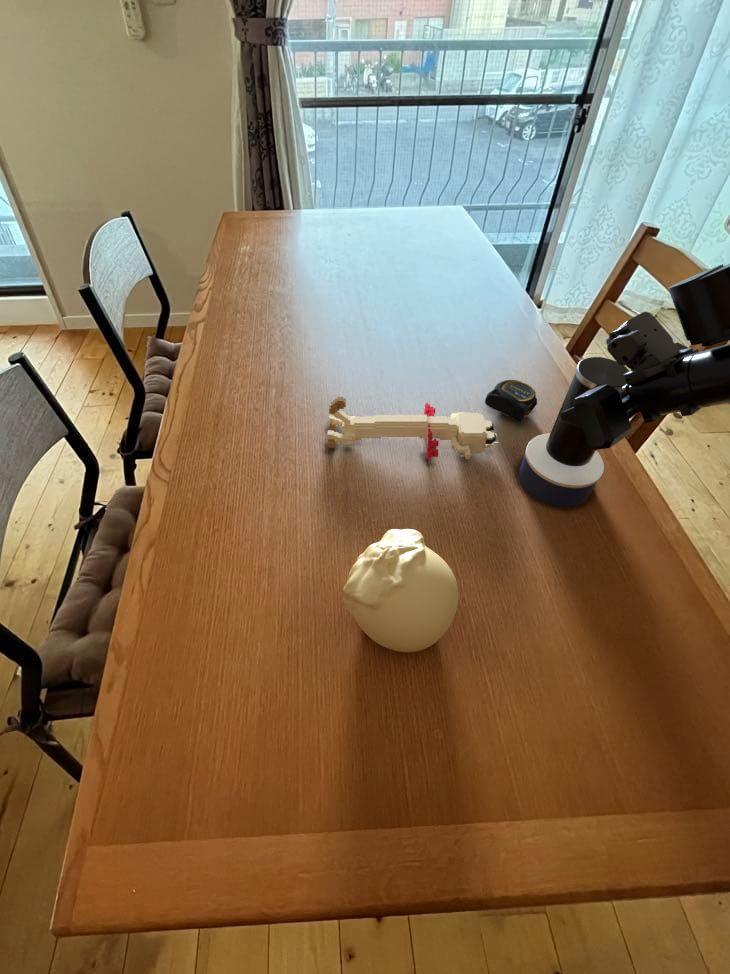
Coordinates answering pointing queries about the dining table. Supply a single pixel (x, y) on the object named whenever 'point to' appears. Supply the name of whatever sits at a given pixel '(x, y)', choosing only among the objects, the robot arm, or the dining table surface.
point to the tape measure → (512, 399)
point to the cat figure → (414, 429)
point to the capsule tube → (566, 438)
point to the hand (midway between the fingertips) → (577, 407)
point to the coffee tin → (557, 476)
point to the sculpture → (401, 592)
